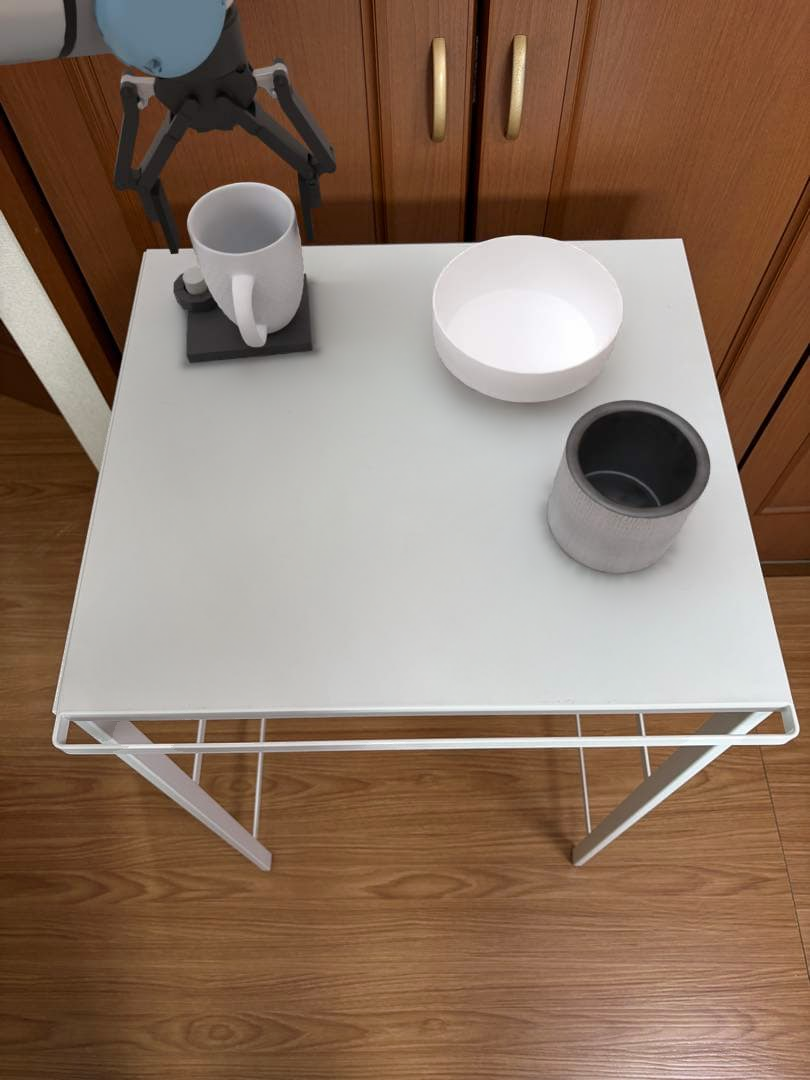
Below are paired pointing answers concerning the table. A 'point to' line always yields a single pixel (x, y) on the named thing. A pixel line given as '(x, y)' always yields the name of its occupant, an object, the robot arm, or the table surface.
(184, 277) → the button
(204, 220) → the mug
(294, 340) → the scale
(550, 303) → the bowl
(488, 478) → the table surface
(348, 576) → the table surface
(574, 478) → the planter
